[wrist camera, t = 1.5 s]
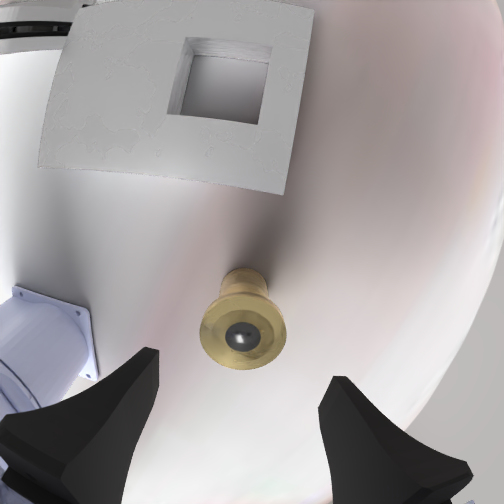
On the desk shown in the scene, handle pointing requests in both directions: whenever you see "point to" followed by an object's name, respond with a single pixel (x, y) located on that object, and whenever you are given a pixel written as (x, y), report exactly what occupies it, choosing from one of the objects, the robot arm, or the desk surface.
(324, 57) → the desk surface
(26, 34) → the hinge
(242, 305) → the bushing
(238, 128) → the jig
